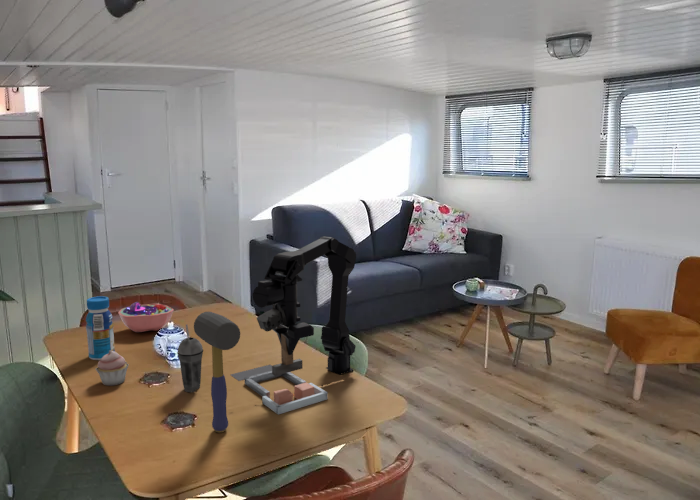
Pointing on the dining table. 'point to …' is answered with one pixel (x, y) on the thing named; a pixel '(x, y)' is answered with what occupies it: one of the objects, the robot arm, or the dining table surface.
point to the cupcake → (112, 368)
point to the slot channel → (253, 380)
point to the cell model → (145, 316)
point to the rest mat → (251, 372)
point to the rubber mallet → (217, 359)
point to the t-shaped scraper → (286, 361)
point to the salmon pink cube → (303, 390)
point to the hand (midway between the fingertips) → (287, 353)
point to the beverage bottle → (99, 327)
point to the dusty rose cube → (283, 396)
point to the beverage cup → (190, 362)
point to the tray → (296, 401)
